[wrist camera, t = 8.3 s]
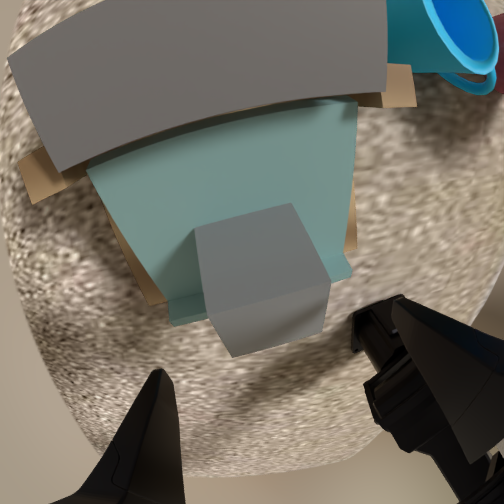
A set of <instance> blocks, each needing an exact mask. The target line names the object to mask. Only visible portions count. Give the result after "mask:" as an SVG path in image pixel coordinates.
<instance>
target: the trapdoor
mask: <svg viewBox="0 0 504 504" xmlns="http://www.w3.org/2000/svg"><path fill="white" fill-rule="evenodd" d="M387 53H388V34H387V6H386V0H105V1H103V2H100V3H98V4H96V5H94V6H91V7H89V8H87V9H85V10H83V11H81V12H79V13H77V14H75V15H73V16H71V17H69V18H68V19H66V20H64V21H62V22H60V23H59V24H57V25H55V26H53V27H52V28H50V29H48V30H47V31H45V32H44V33H42V34H40V35H39V36H37V37H36V38H34V39H33V40H31V41H30V42H28V43H27V44H25V45H24V46H23V47H21V48H20V49H18V50H17V51H16V52H14V53H13V54H12V55H10V56H9V57H8V58H7V60H8V63H9V66H10V68H11V71H12V74H13V77H14V79H15V82H16V85H17V87H18V90H19V92H20V95H21V97H22V99H23V102H24V104H25V106H26V109H27V111H28V113H29V115H30V118H31V120H32V122H33V124H34V126H35V128H36V130H37V132H38V134H39V136H40V139H41V140H42V142H43V144H44V146H45V148H46V150H47V152H48V154H49V156H50V158H51V160H52V162H53V163H54V165H55V167H56V169H57V171H58V172H59V173H60V172H62V171H64V170H66V169H68V168H70V167H72V166H74V165H76V164H78V163H80V162H83V161H85V160H87V159H89V158H91V157H94V156H96V155H98V154H101V153H103V152H105V151H108V150H110V149H113V148H115V147H118V146H120V145H123V144H126V143H128V142H131V141H134V140H136V139H139V138H142V137H145V136H147V135H150V134H153V133H156V132H159V131H162V130H165V129H169V128H172V127H175V126H178V125H182V124H185V123H188V122H192V121H195V120H199V119H203V118H207V117H210V116H214V115H218V114H222V113H227V112H231V111H235V110H240V109H245V108H249V107H254V106H259V105H265V104H270V103H276V102H282V101H288V100H295V99H302V98H310V97H318V96H328V95H339V94H352V93H370V92H386V83H387ZM357 112H358V102H357V101H355V100H354V99H352V98H351V97H349V96H347V95H342V96H331V97H321V98H313V99H305V100H298V101H291V102H285V103H278V104H273V105H267V106H262V107H257V108H251V109H247V110H242V111H237V112H233V113H229V114H224V115H220V116H216V117H212V118H208V119H205V120H201V121H197V122H194V123H190V124H187V125H183V126H180V127H177V128H173V129H170V130H167V131H164V132H161V133H158V134H155V135H152V136H149V137H146V138H143V139H140V140H138V141H135V142H132V143H129V144H127V145H124V146H122V147H119V148H117V149H114V150H112V151H109V152H107V153H104V154H102V155H99V156H97V157H95V158H92V159H91V160H90V162H89V164H88V166H87V169H86V172H87V174H88V176H89V178H90V179H91V181H92V183H93V185H94V187H95V188H96V190H97V192H98V194H99V196H100V197H101V199H102V201H103V203H104V204H105V206H106V208H107V210H108V211H109V213H110V215H111V216H112V218H113V220H114V221H115V223H116V225H117V226H118V228H119V229H120V231H121V233H122V234H123V236H124V237H125V239H126V241H127V242H128V244H129V245H130V247H131V248H132V250H133V252H134V253H135V255H136V256H137V258H138V259H139V261H140V262H141V264H142V265H143V267H144V268H145V270H146V271H147V273H148V274H149V276H150V277H151V278H152V280H153V281H154V283H155V284H156V286H157V287H158V288H159V290H160V291H161V293H162V294H163V295H164V297H165V298H166V300H167V301H168V310H169V321H170V322H171V324H172V325H173V326H174V327H175V326H179V325H183V324H188V323H192V322H196V321H200V320H204V319H208V316H207V312H206V306H205V300H204V293H203V287H202V281H201V274H200V267H199V260H198V253H197V246H196V238H195V231H194V228H195V227H199V226H202V225H206V224H210V223H213V222H217V221H221V220H224V219H228V218H232V217H236V216H239V215H243V214H247V213H251V212H255V211H259V210H263V209H267V208H271V207H275V206H279V205H283V204H287V203H292V205H293V207H294V208H295V210H296V212H297V214H298V216H299V218H300V220H301V222H302V223H303V225H304V227H305V229H306V231H307V233H308V235H309V237H310V239H311V241H312V243H313V245H314V247H315V249H316V251H317V253H318V255H319V257H320V259H321V261H322V263H323V265H324V267H325V269H326V271H327V273H328V275H329V277H330V279H331V283H334V282H337V281H340V280H343V279H346V278H349V277H351V274H352V268H351V267H350V265H349V263H348V261H347V259H346V258H345V256H344V254H343V249H344V243H345V236H346V230H347V223H348V215H349V207H350V199H351V191H352V181H353V171H354V160H355V147H356V132H357Z"/></svg>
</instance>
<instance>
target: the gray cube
mask: <svg viewBox="0 0 504 504" xmlns="http://www.w3.org/2000/svg"><path fill="white" fill-rule="evenodd" d="M194 231H195V238H196V246H197V253H198V260H199V267H200V274H201V281H202V287H203V293H204V300H205V306H206V312H207V316H208V318H209V320H210V321H211V323H212V325H213V327H214V328H215V330H216V332H217V333H218V335H219V337H220V338H221V340H222V342H223V343H224V345H225V347H226V348H227V350H228V352H229V353H230V355H231V357H232V358H234V357H238V356H242V355H246V354H249V353H253V352H257V351H261V350H264V349H268V348H272V347H275V346H279V345H282V344H286V343H289V342H292V341H296V340H299V339H302V338H305V337H308V336H312V335H315V334H318V333H321V332H322V329H323V324H324V319H325V314H326V309H327V303H328V298H329V292H330V287H331V279H330V277H329V275H328V273H327V271H326V269H325V267H324V265H323V263H322V261H321V259H320V257H319V255H318V253H317V251H316V249H315V247H314V245H313V243H312V241H311V239H310V237H309V235H308V233H307V231H306V229H305V227H304V225H303V223H302V222H301V220H300V218H299V216H298V214H297V212H296V210H295V208H294V207H293V205H292V203H287V204H283V205H279V206H275V207H271V208H267V209H263V210H259V211H255V212H251V213H247V214H243V215H239V216H236V217H232V218H228V219H224V220H221V221H217V222H213V223H210V224H206V225H202V226H199V227H195V228H194Z"/></svg>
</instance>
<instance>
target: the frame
mask: <svg viewBox="0 0 504 504" xmlns="http://www.w3.org/2000/svg"><path fill="white" fill-rule="evenodd" d="M342 95H347V96H349V97H351V98H352V99H354V100H355V101H357V102H358V106H359V107H376V108H393V107H417V103H416V95H415V88H414V81H413V75H412V69H411V65H406V64H392V63H387V83H386V92H370V93H352V94H339V95H328V96H318V97H310V98H302V99H295V100H288V101H282V102H276V103H270V104H265V105H259V106H254V107H249V108H245V109H240V110H235V111H231V112H227V113H222V114H218V115H214V116H210V117H207V118H203V119H199V120H195V121H192V122H188V123H185V124H182V125H178V126H175V127H172V128H169V129H165V130H162V131H159V132H156V133H153V134H150V135H147V136H145V137H142V138H139V139H136V140H134V141H131V142H128V143H126V144H123V145H120V146H118V147H115V148H113V149H110V150H108V151H105V152H103V153H101V154H98V155H96V156H94V157H91V158H89V159H87V160H85V161H83V162H80V163H78V164H76V165H74V166H72V167H70V168H68V169H66V170H64V171H62V172H60V173H59V172H58V171H57V169H56V167H55V165H54V163H53V162H52V160H51V158H50V156H49V154H48V152H47V150H46V148H45V146H43V147H41V148H39V149H38V150H36V151H34V152H33V153H31V154H29V155H28V156H26V157H25V158H23V159H21V160H20V161H18V166H19V169H20V172H21V175H22V178H23V181H24V184H25V186H26V189H27V192H28V195H29V197H30V200H31V203H32V205H33V204H35V203H37V202H39V201H41V200H43V199H45V198H47V197H49V196H51V195H53V194H55V193H57V192H59V191H61V190H63V189H65V188H67V187H69V186H70V185H72V184H73V183H75V182H76V181H78V180H79V179H81V178H82V177H84V176H86V175H87V172H86V169H87V166H88V164H89V162H90V160H91V159H92V158H95V157H97V156H99V155H102V154H104V153H107V152H109V151H112V150H114V149H117V148H119V147H122V146H124V145H127V144H129V143H132V142H135V141H138V140H140V139H143V138H146V137H149V136H152V135H155V134H158V133H161V132H164V131H167V130H170V129H173V128H177V127H180V126H183V125H187V124H190V123H194V122H197V121H201V120H205V119H208V118H212V117H216V116H220V115H224V114H229V113H233V112H237V111H242V110H247V109H251V108H257V107H262V106H267V105H273V104H278V103H285V102H291V101H298V100H305V99H313V98H321V97H331V96H342ZM100 199H101V197H100ZM101 201H102V199H101ZM102 204H103V207H104V209H105V212H106V214H107V217H108V219H109V222H110V224H111V226H112V229H113V231H114V234H115V236H116V238H117V240H118V243H119V245H120V247H121V250H122V252H123V254H124V256H125V258H126V260H127V263H128V265H129V267H130V269H131V271H132V273H133V275H134V277H135V279H136V281H137V283H138V285H139V287H140V289H141V291H142V293H143V295H144V297H145V299H146V301H147V303H148V305H149V306H152V305H156V304H160V303H164V302H168V301H167V300H166V298H165V297H164V295H163V294H162V293H161V291H160V290H159V288H158V287H157V286H156V284H155V283H154V281H153V280H152V278H151V277H150V276H149V274H148V273H147V271H146V270H145V268H144V267H143V265H142V264H141V262H140V261H139V259H138V258H137V256H136V255H135V253H134V252H133V250H132V248H131V247H130V245H129V244H128V242H127V241H126V239H125V237H124V236H123V234H122V233H121V231H120V229H119V228H118V226H117V225H116V223H115V221H114V220H113V218H112V216H111V215H110V213H109V211H108V210H107V208H106V206H105V204H104V203H103V201H102ZM354 249H357V226H356V207H355V193H354V180H353V181H352V191H351V199H350V207H349V215H348V223H347V230H346V236H345V243H344V249H343V253H344V252H347V251H351V250H354Z"/></svg>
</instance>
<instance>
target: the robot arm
mask: <svg viewBox="0 0 504 504" xmlns="http://www.w3.org/2000/svg"><path fill="white" fill-rule="evenodd" d="M351 350H352V352H353V353H357V352H360V351H362V350H364V351H365V353H366V355H367V356H368V358H369V360H370V361H371V363H372V365H373V366H374V368H375V370H376V371H377V374H376V375H375V376H373V377H372V378H371V379H370V380H368V381H366V382H365V383H363V386H364V389H365V394H366V397H367V400H368V403H369V406H370V409H371V413H372V416H373V418H374V422H375V423H376V424H377V425H380V426H381V427H382V428H383V429H384V430H385V431H387V432H390V433H391V434H392V435H393V437H394V439H395V441H396V442H397V444H398V446H399V448H400V449H401V450H403V451H405V452H407V453H411V452H413V451H418V452H420V453H423V454H426V455H430V456H431V457H432V459H433V460H434V461H435V463H436V465H437V466H438V468H439V469H440V471H441V472H442V474H443V476H444V477H445V479H446V480H447V482H448V484H449V485H450V487H451V488H452V490H453V492H454V493H455V495H456V497H457V498H458V500H459V503H457V504H504V340H501V339H499V338H496V337H493V336H491V335H488V334H486V333H484V332H481V331H479V330H477V329H474V328H472V327H470V326H468V325H466V324H464V323H461V322H459V321H457V320H455V319H453V318H450V317H448V316H446V315H444V314H441V313H439V312H437V311H435V310H432V309H430V308H428V307H425V306H423V305H421V304H419V303H416V302H414V301H412V300H409V299H407V298H405V296H404V295H403V294H400V295H398V296H395V297H393V298H390V299H388V300H385V301H383V302H380V303H378V304H375V305H373V306H370V307H367V308H365V309H362V310H359V311H357V312H355V313H354V314H353V324H352V345H351ZM495 445H496V446H497V447H498V449H499V451H498V452H497V453H496V454H494V455H493V456H492V454H491V453H490V451H489V450H490V449H492V448H493V447H494V446H495ZM50 504H186V503H185V494H184V484H183V473H182V461H181V447H180V429H179V417H178V410H177V404H176V398H175V391H174V384H173V382H172V380H171V378H170V377H169V376H168V374H167V373H166V371H165V370H164V369H162V368H161V369H155V370H153V371H152V372H151V373H150V375H149V377H148V379H147V380H146V382H145V384H144V385H143V387H142V389H141V390H140V392H139V394H138V396H137V397H136V399H135V401H134V402H133V404H132V406H131V408H130V409H129V411H128V413H127V415H126V416H125V418H124V420H123V421H122V423H121V425H120V427H119V428H118V430H117V432H116V434H115V436H114V437H113V441H111V442H110V444H109V446H108V448H107V449H106V451H105V453H104V454H103V456H102V458H101V459H100V461H99V462H98V464H97V465H96V467H95V468H94V469H93V471H92V472H91V474H90V475H89V477H88V478H87V480H86V481H85V482H84V484H83V485H82V486H81V488H80V489H79V490H78V491H76V492H75V493H74V494H72V495H70V496H68V497H65V498H63V499H60V500H58V501H56V502H53V503H50Z"/></svg>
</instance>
